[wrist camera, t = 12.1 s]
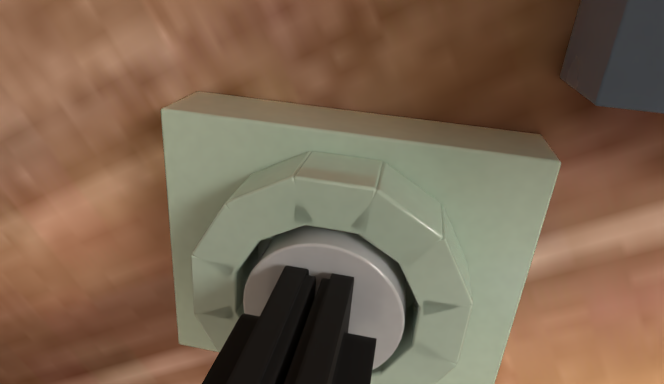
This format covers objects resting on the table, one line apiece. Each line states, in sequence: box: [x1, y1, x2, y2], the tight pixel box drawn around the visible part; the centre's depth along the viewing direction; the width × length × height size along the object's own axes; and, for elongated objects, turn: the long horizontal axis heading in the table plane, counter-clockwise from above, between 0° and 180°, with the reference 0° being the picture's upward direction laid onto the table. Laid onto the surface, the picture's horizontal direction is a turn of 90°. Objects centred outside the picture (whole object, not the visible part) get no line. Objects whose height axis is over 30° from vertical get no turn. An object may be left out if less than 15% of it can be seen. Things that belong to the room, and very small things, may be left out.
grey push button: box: [243, 225, 408, 370], centre depth 12 cm, size 4×4×2 cm
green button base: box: [161, 91, 561, 384], centre depth 13 cm, size 10×8×4 cm
